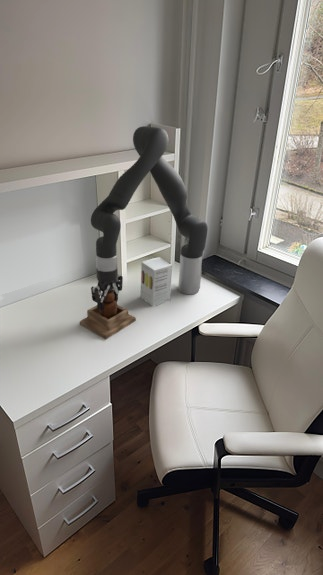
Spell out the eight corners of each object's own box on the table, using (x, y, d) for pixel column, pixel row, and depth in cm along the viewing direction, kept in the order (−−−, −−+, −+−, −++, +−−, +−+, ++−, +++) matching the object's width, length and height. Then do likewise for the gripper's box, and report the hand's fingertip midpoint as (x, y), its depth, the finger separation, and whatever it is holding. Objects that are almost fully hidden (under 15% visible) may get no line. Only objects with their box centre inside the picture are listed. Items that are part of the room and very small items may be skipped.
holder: (109, 307, 166) (109, 296, 164) (135, 320, 159) (135, 308, 156) (79, 324, 155) (79, 312, 153) (106, 339, 148) (105, 326, 145)
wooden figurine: (100, 322, 153) (99, 287, 146) (98, 314, 158) (96, 280, 150) (118, 320, 155) (118, 285, 147) (115, 312, 159) (115, 278, 152)
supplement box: (139, 296, 175) (140, 261, 167) (157, 290, 180) (158, 256, 172) (152, 306, 169) (154, 270, 160) (170, 300, 174) (172, 264, 165)
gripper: (113, 256, 152) (114, 295, 161) (84, 269, 142) (86, 309, 151) (128, 262, 148) (128, 301, 157) (99, 276, 138) (101, 317, 147)
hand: (107, 305), depth 154 cm, fingers closed on wooden figurine, 6 cm apart
